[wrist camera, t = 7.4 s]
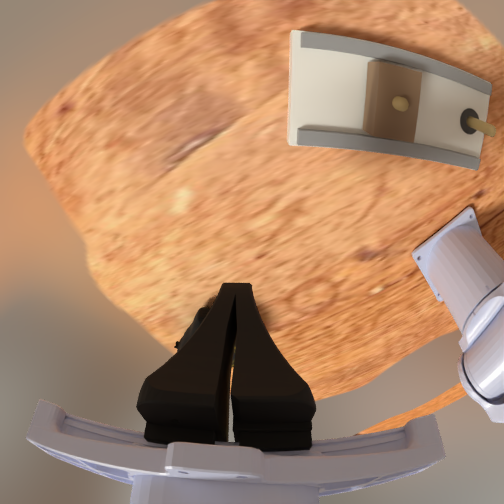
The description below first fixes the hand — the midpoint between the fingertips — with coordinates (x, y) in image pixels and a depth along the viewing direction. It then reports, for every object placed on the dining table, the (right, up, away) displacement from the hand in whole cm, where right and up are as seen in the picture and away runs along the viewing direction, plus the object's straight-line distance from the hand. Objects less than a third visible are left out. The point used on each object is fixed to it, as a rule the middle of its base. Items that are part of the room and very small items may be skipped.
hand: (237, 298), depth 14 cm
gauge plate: (+12, +13, +3) cm, 18 cm away
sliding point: (+10, +12, +2) cm, 16 cm away
